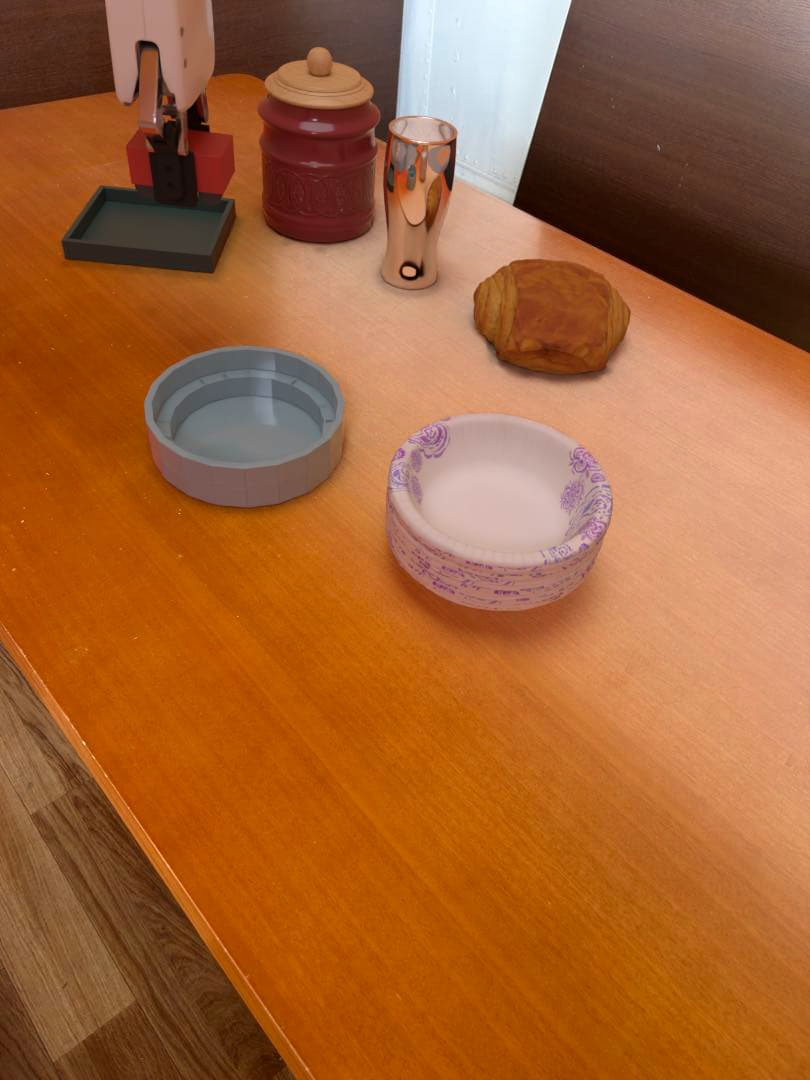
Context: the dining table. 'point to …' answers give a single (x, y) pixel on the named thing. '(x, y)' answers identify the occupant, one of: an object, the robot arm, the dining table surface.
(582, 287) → the croissant
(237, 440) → the bowl
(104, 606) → the dining table surface
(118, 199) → the tray
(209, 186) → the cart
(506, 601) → the paper bowls
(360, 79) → the kitchen canister
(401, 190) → the beer glass
